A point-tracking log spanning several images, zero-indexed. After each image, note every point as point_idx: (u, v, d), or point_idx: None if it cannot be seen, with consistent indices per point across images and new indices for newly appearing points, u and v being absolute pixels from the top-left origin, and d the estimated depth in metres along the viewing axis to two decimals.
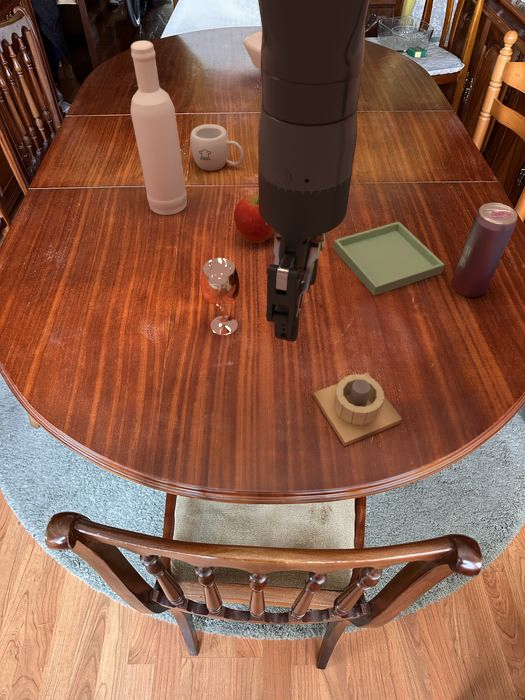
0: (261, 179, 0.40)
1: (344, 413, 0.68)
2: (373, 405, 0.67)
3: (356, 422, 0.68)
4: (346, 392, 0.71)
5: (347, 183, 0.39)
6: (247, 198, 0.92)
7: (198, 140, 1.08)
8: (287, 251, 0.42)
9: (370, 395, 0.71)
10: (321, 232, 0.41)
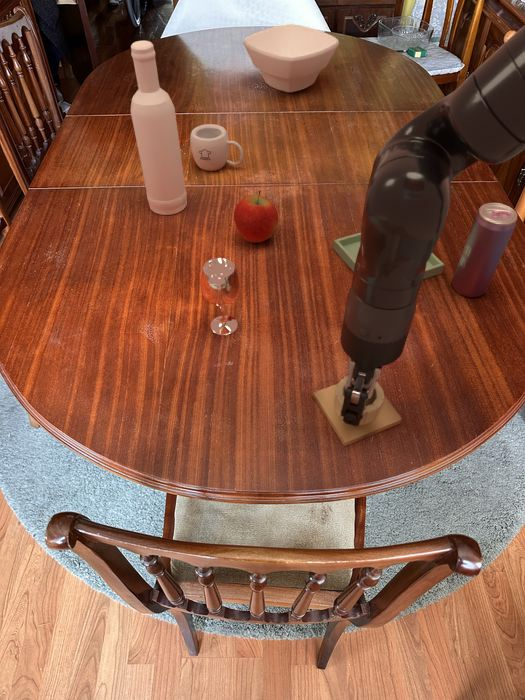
0: (346, 328, 0.57)
1: None
2: (373, 405, 0.67)
3: None
4: None
5: (406, 335, 0.57)
6: (247, 198, 0.92)
7: (198, 140, 1.08)
8: (359, 373, 0.60)
9: None
10: (385, 364, 0.58)
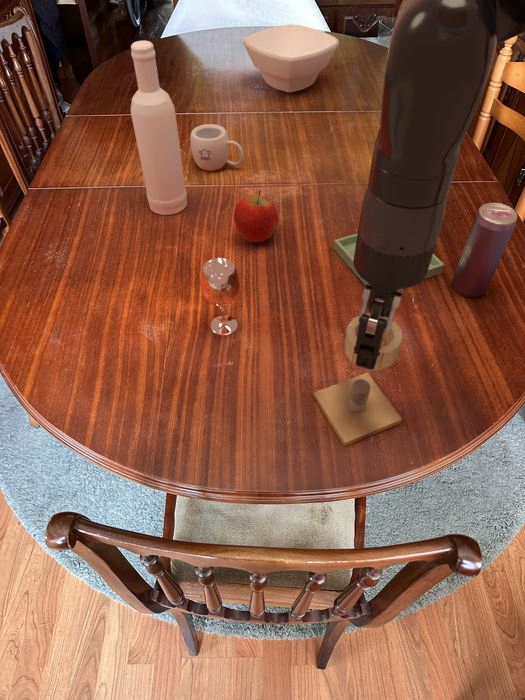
0: (361, 242, 0.48)
1: None
2: (390, 345, 0.58)
3: None
4: None
5: (433, 249, 0.48)
6: (247, 198, 0.92)
7: (198, 140, 1.08)
8: (376, 299, 0.51)
9: (386, 338, 0.62)
10: (407, 286, 0.49)
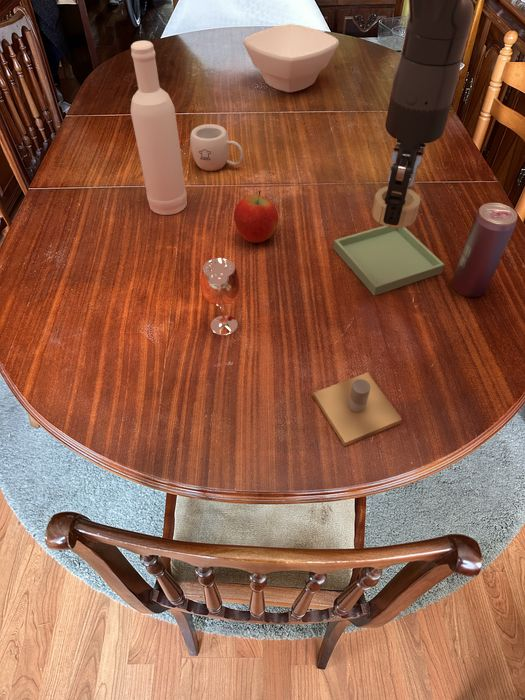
0: (393, 104, 0.63)
1: None
2: (411, 205, 0.73)
3: None
4: None
5: (449, 108, 0.62)
6: (247, 198, 0.92)
7: (198, 140, 1.08)
8: (403, 154, 0.65)
9: (406, 206, 0.76)
10: (428, 141, 0.64)
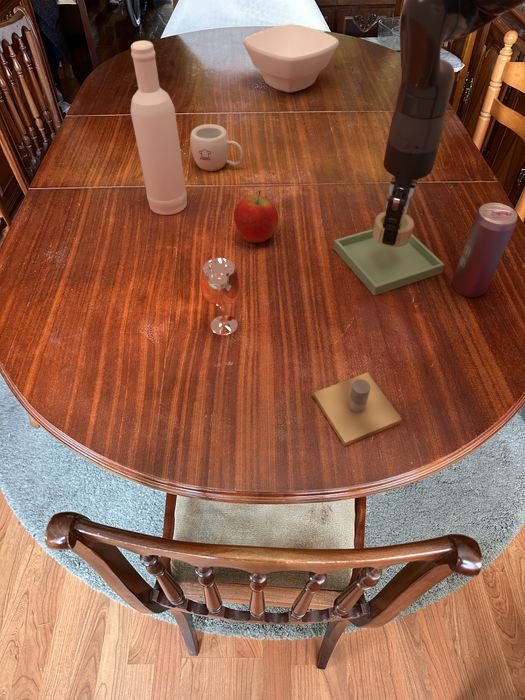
0: (390, 147, 0.75)
1: (382, 236, 0.86)
2: (405, 228, 0.85)
3: None
4: None
5: (436, 150, 0.75)
6: (247, 198, 0.92)
7: (198, 140, 1.08)
8: (398, 187, 0.78)
9: (402, 228, 0.89)
10: (419, 177, 0.76)
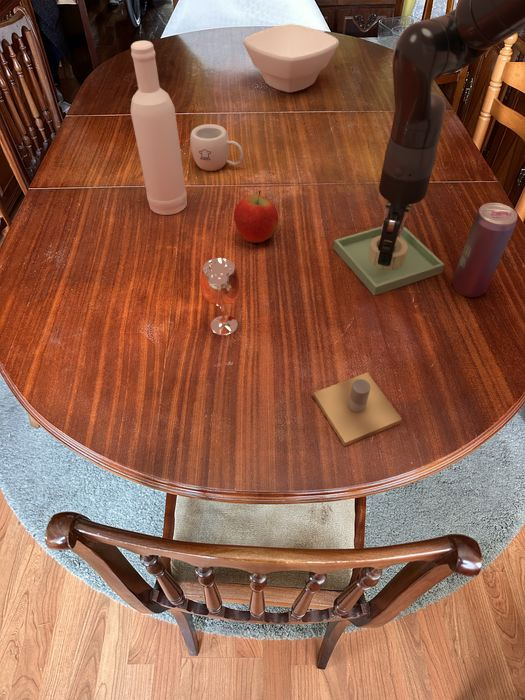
0: (384, 174, 0.79)
1: (377, 260, 0.90)
2: (400, 252, 0.89)
3: (386, 267, 0.90)
4: None
5: (429, 177, 0.78)
6: (247, 198, 0.92)
7: (198, 140, 1.08)
8: (393, 212, 0.81)
9: (396, 251, 0.93)
10: (413, 202, 0.80)
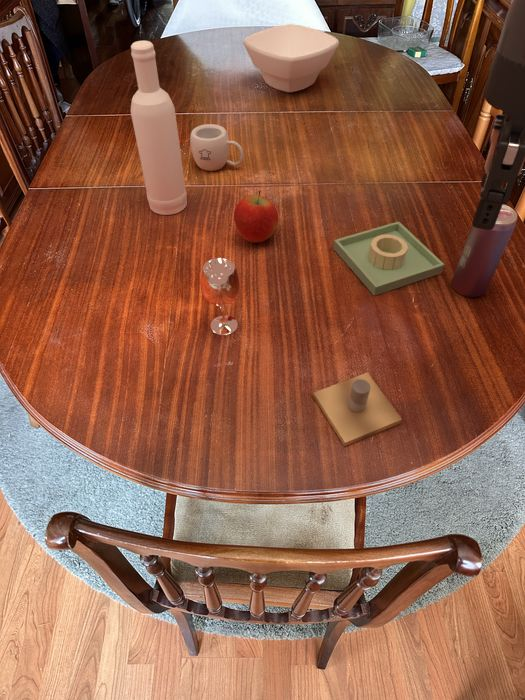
0: (502, 61, 0.45)
1: (377, 260, 0.90)
2: (400, 252, 0.89)
3: (386, 267, 0.90)
4: None
5: None
6: (247, 198, 0.92)
7: (198, 140, 1.08)
8: (511, 132, 0.48)
9: (396, 251, 0.93)
10: None
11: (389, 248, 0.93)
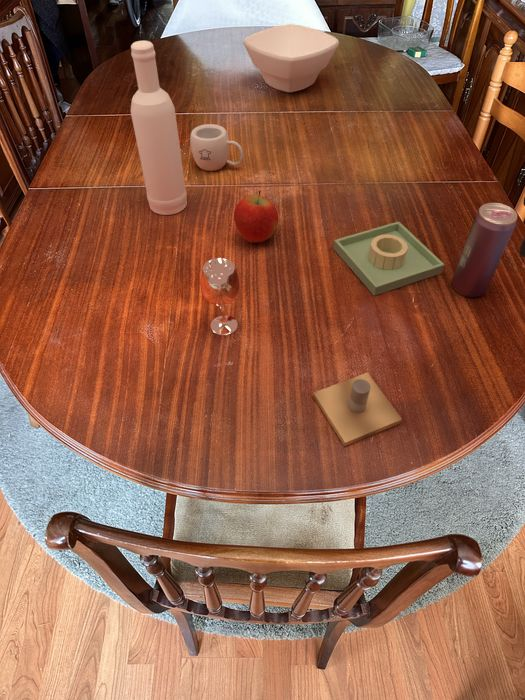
0: None
1: (377, 260, 0.90)
2: (400, 252, 0.89)
3: (386, 267, 0.90)
4: None
5: None
6: (247, 198, 0.92)
7: (198, 140, 1.08)
8: None
9: (396, 251, 0.93)
10: None
11: (389, 248, 0.93)
